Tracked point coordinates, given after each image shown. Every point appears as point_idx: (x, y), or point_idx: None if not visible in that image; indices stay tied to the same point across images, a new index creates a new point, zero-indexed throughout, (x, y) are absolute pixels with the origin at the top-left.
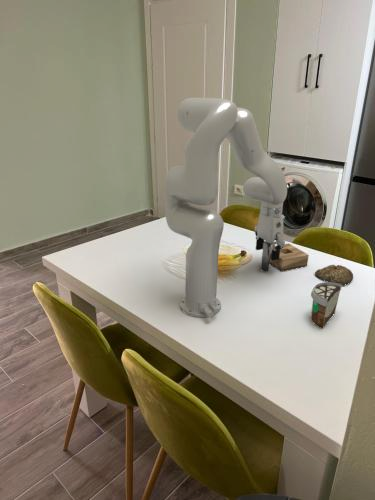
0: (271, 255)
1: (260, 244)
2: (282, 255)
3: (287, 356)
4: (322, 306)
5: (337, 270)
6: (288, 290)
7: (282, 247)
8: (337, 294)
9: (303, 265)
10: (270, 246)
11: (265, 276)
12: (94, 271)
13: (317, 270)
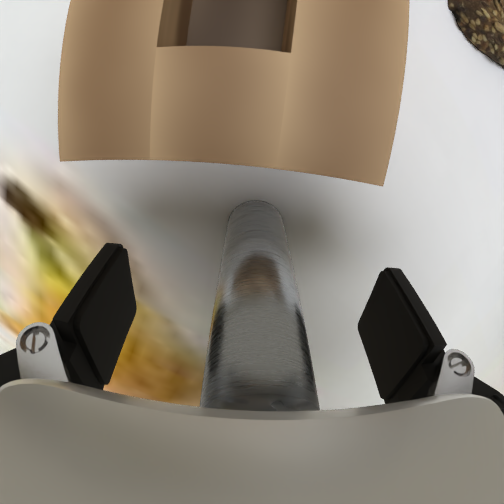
0: (373, 359)
1: (112, 324)
2: (307, 103)
3: (495, 384)
4: None
5: None
6: (463, 271)
7: (496, 397)
8: None
9: None
10: (315, 385)
11: (326, 277)
12: None
13: (487, 28)
